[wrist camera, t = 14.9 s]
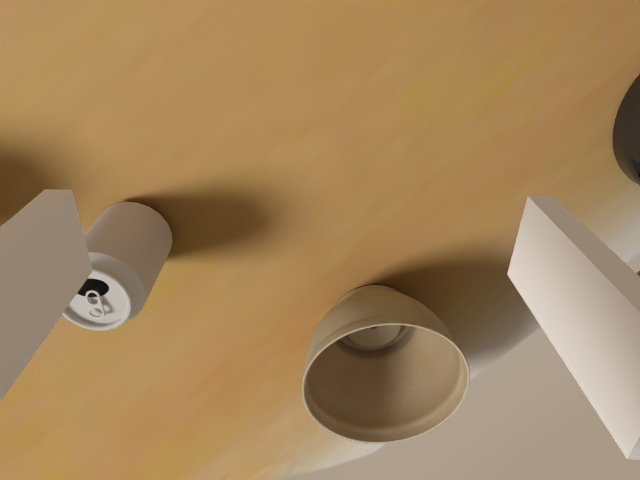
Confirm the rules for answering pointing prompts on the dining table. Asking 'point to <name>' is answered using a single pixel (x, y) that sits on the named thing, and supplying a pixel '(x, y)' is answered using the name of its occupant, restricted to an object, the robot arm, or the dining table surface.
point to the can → (120, 265)
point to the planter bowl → (382, 368)
